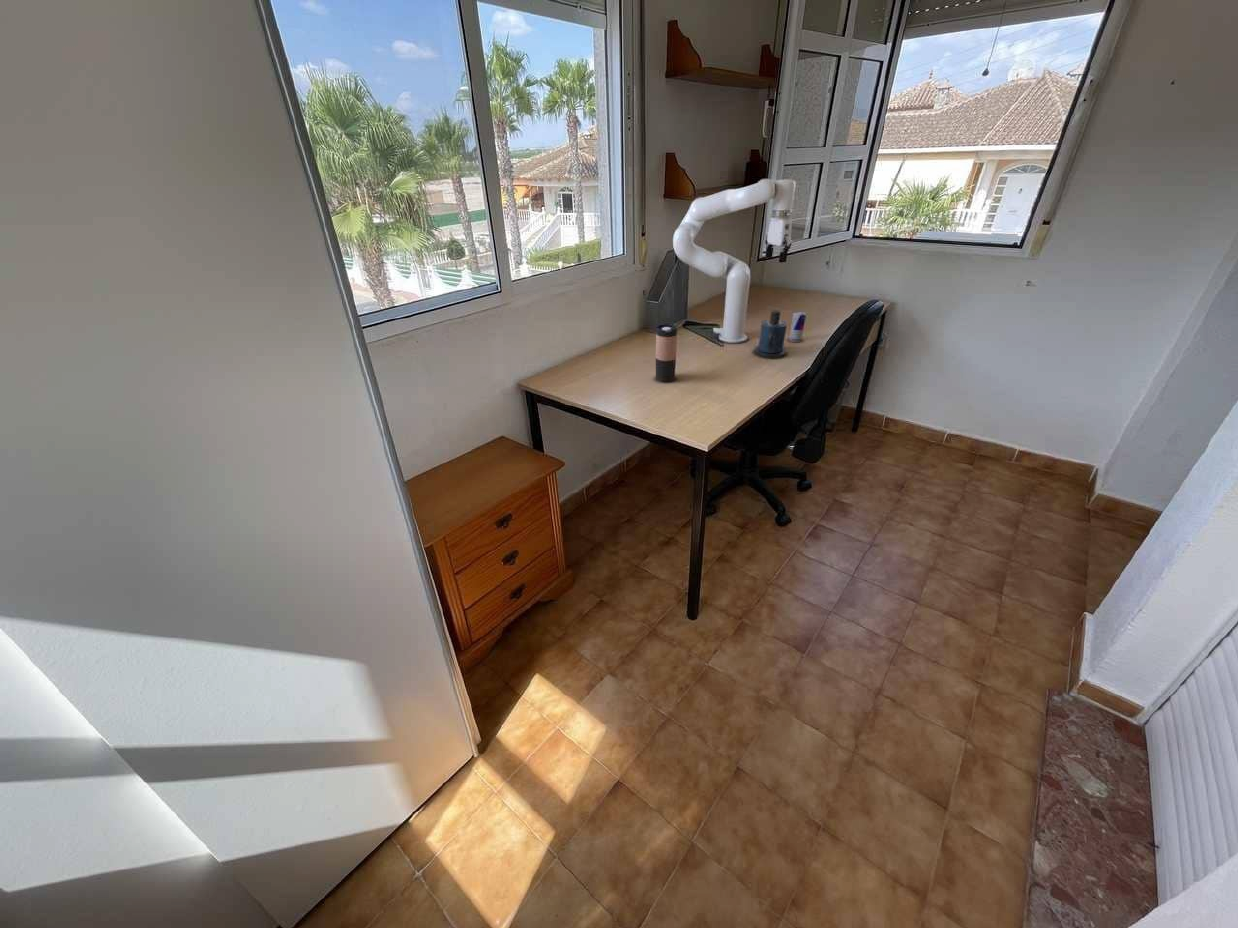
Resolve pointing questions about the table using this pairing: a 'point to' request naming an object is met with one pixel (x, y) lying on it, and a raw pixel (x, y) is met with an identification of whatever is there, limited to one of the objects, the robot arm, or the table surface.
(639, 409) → the table surface
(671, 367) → the travel mug
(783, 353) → the base
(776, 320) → the kettle
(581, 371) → the table surface
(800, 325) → the energy drink
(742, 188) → the robot arm
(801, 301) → the table surface
